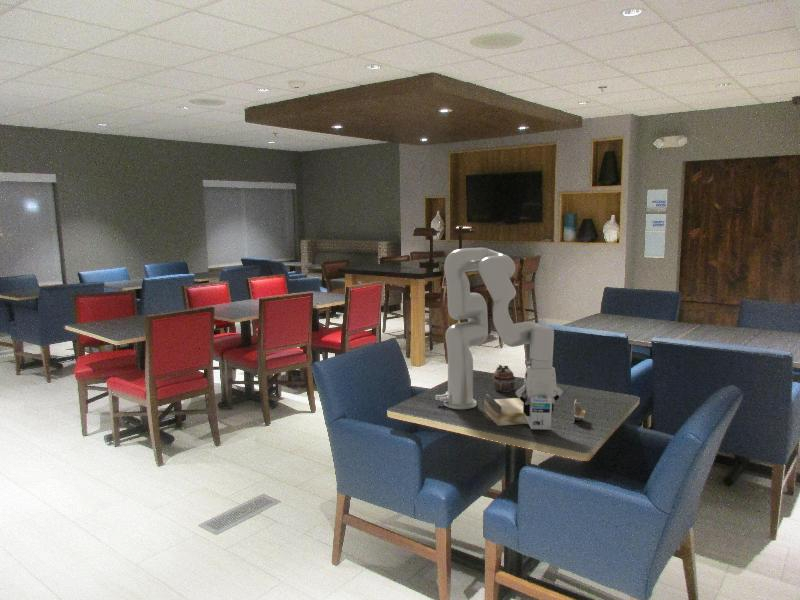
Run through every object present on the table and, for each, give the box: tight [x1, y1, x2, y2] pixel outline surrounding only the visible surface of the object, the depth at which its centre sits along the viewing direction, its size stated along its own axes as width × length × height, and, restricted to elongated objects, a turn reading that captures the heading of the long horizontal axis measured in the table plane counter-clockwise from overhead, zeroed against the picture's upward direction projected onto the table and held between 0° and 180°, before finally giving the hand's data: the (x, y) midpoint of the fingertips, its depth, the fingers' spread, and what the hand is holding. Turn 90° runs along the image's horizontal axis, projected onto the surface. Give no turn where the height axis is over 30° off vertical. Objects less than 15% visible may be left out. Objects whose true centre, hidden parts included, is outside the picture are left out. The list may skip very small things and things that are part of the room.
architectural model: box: [572, 399, 586, 424], centre depth 205 cm, size 3×7×7 cm, turn 158°
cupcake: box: [491, 364, 517, 393], centre depth 243 cm, size 10×10×10 cm
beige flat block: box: [483, 393, 529, 426], centre depth 211 cm, size 14×16×6 cm
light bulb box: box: [525, 396, 553, 430], centre depth 196 cm, size 11×7×11 cm, turn 179°
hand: (538, 414), depth 196 cm, fingers closed on light bulb box, 7 cm apart
